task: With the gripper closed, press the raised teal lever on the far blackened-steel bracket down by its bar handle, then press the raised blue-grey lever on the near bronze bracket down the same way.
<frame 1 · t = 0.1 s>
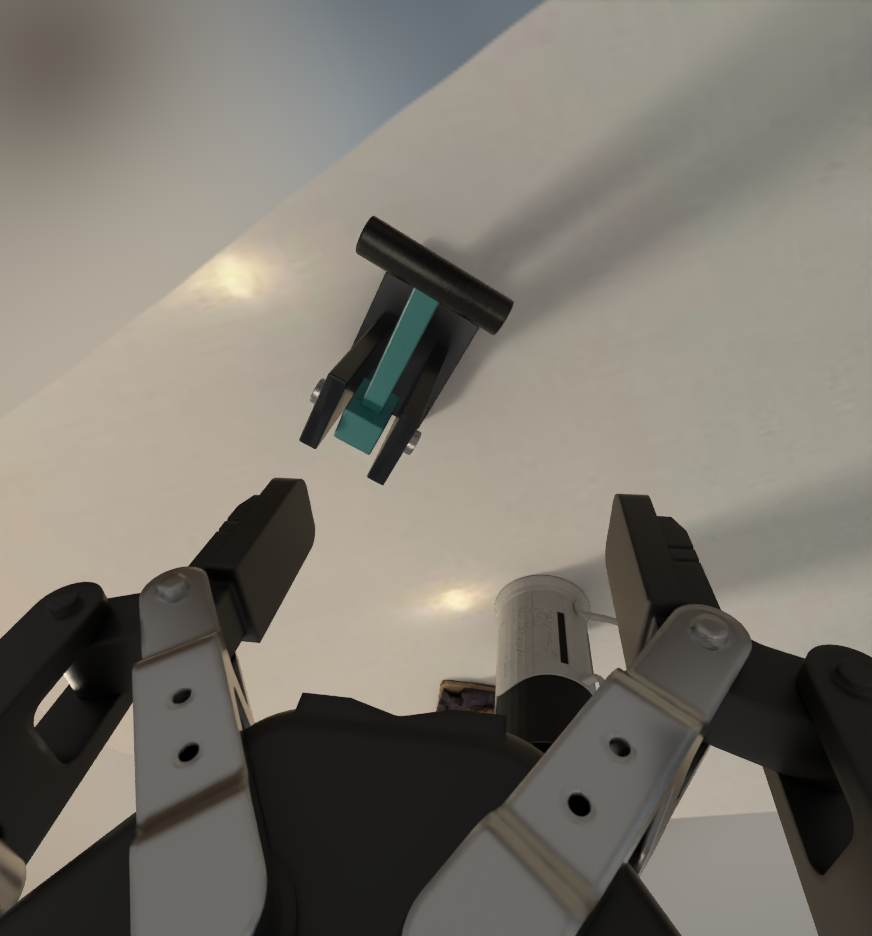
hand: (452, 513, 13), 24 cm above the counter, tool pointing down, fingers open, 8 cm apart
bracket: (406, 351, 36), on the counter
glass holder: (563, 594, 46), on the counter
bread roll: (486, 705, 57), on the counter
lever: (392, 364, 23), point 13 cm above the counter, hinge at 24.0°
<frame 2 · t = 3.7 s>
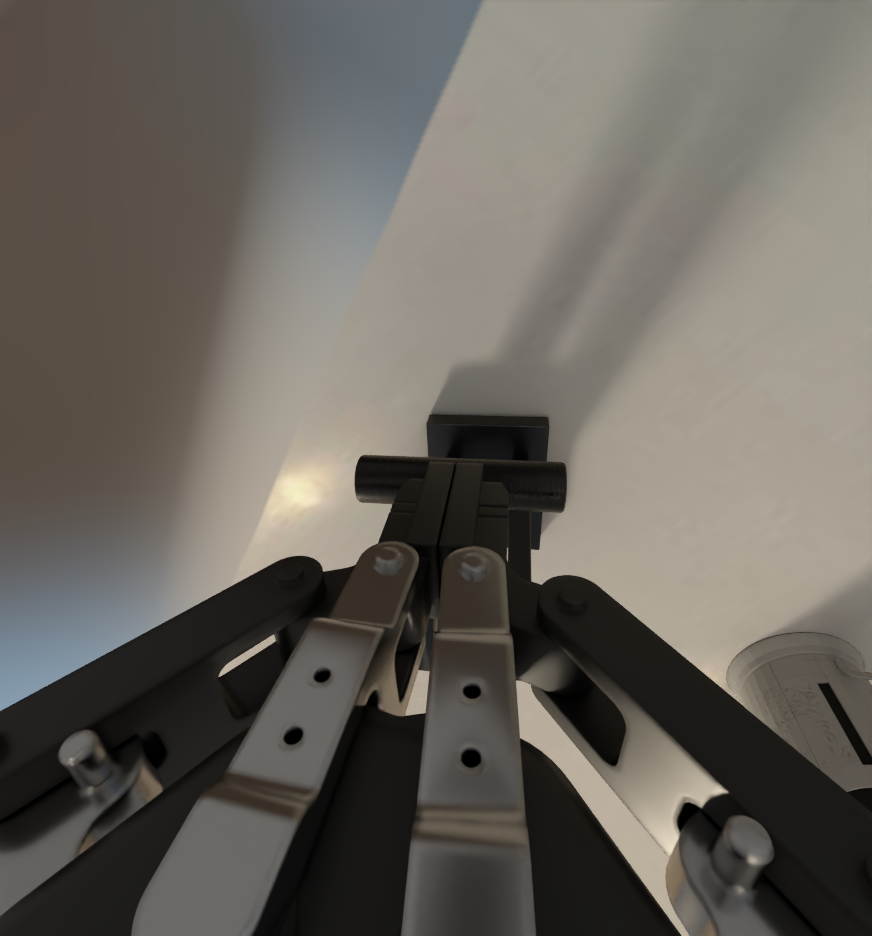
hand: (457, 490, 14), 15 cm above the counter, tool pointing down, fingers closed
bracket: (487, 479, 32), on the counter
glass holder: (812, 648, 36), on the counter
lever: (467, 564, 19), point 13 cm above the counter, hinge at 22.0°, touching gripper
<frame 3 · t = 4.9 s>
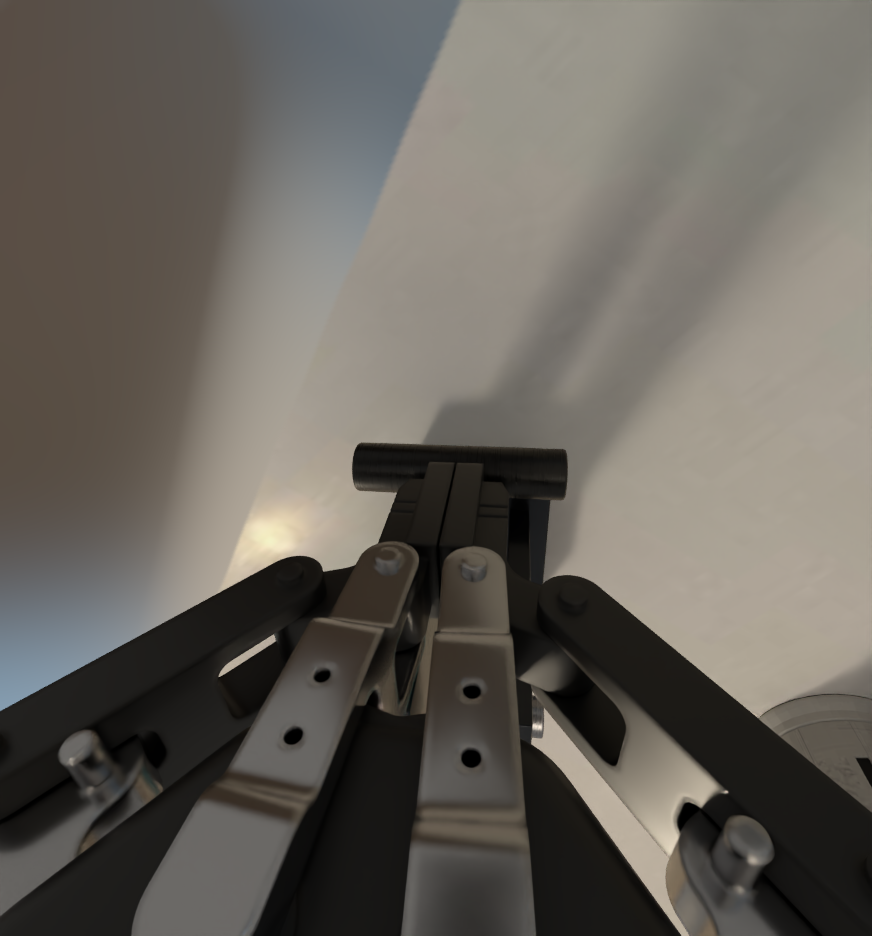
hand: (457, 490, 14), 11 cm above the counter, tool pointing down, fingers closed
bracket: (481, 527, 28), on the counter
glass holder: (846, 710, 32), on the counter
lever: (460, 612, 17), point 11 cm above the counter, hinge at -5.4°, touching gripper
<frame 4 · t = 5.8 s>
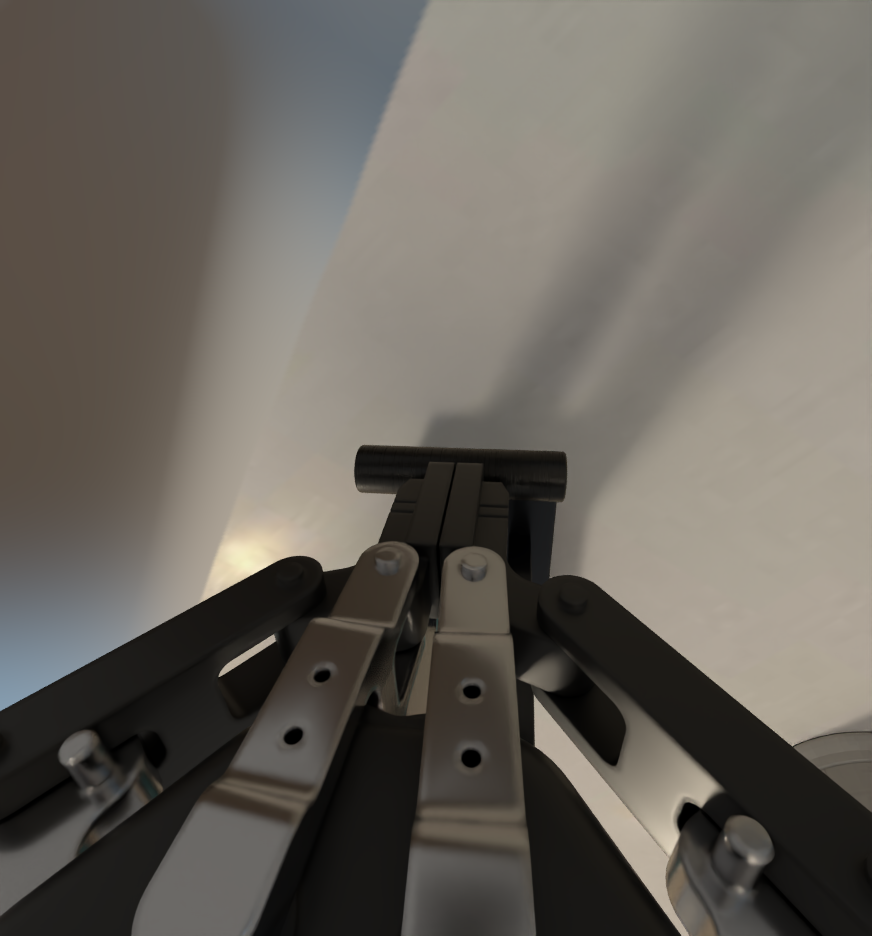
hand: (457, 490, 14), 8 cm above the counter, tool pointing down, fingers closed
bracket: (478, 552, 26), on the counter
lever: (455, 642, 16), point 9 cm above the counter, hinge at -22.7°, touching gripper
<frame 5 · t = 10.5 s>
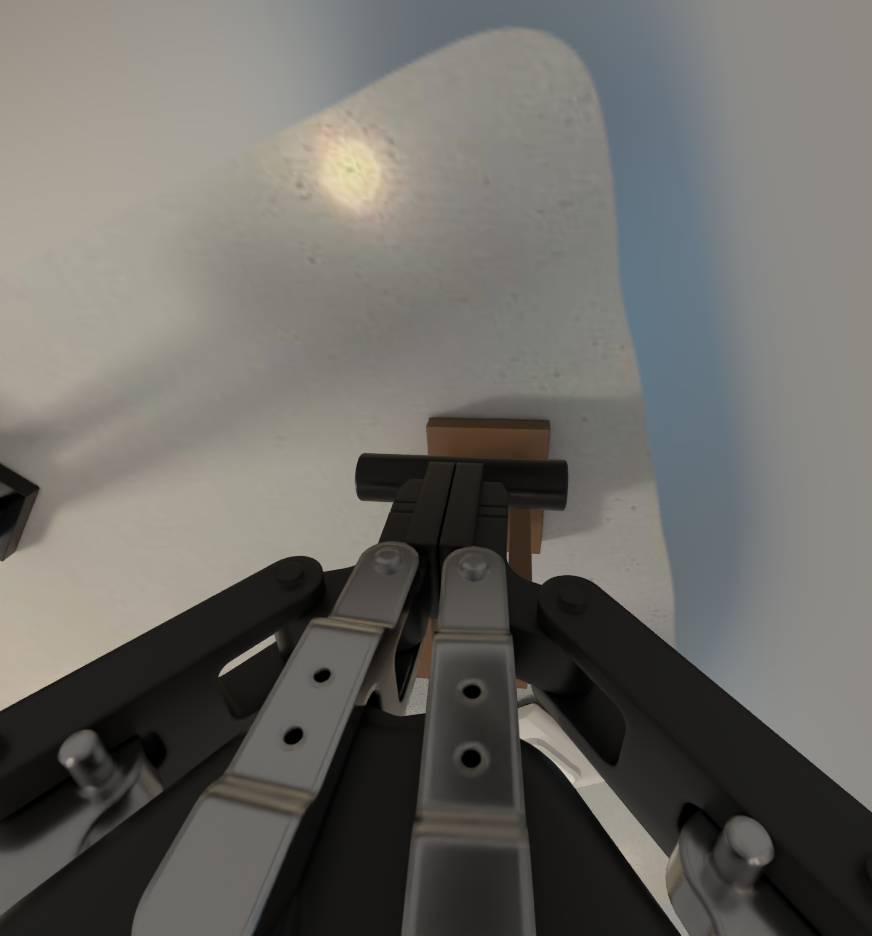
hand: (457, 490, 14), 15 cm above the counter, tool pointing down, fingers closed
light switch: (517, 747, 46), on the counter
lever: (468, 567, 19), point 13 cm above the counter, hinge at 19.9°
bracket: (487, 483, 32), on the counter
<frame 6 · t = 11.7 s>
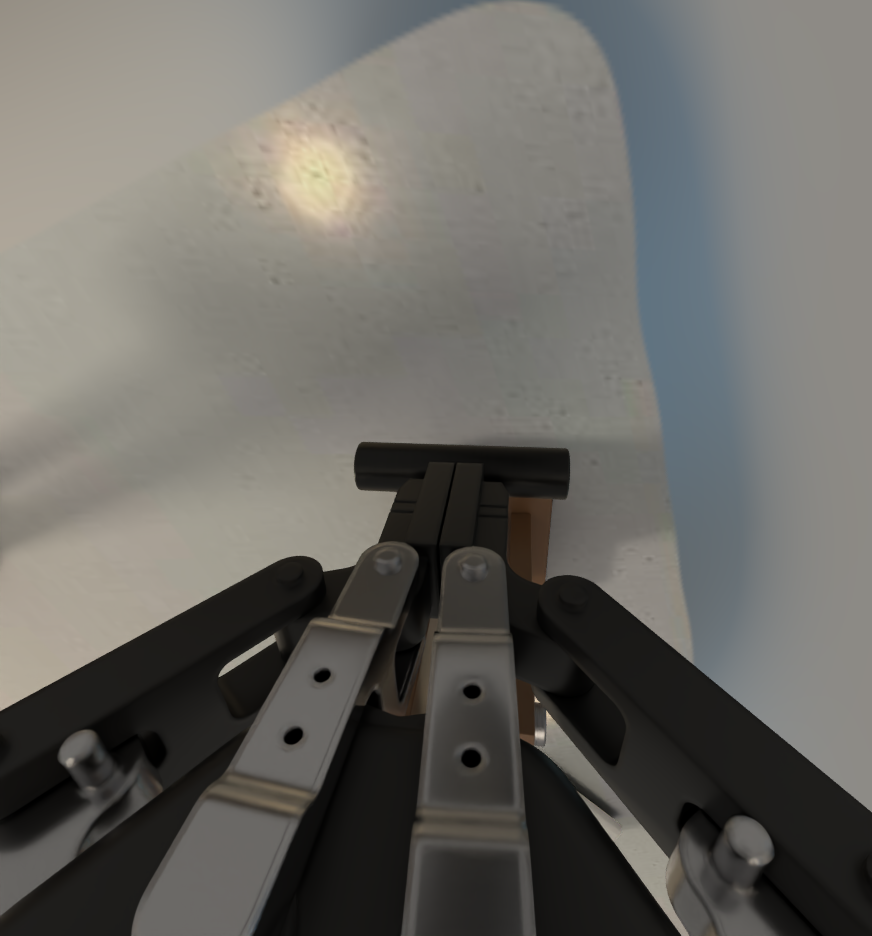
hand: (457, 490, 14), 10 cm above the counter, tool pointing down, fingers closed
light switch: (517, 800, 43), on the counter
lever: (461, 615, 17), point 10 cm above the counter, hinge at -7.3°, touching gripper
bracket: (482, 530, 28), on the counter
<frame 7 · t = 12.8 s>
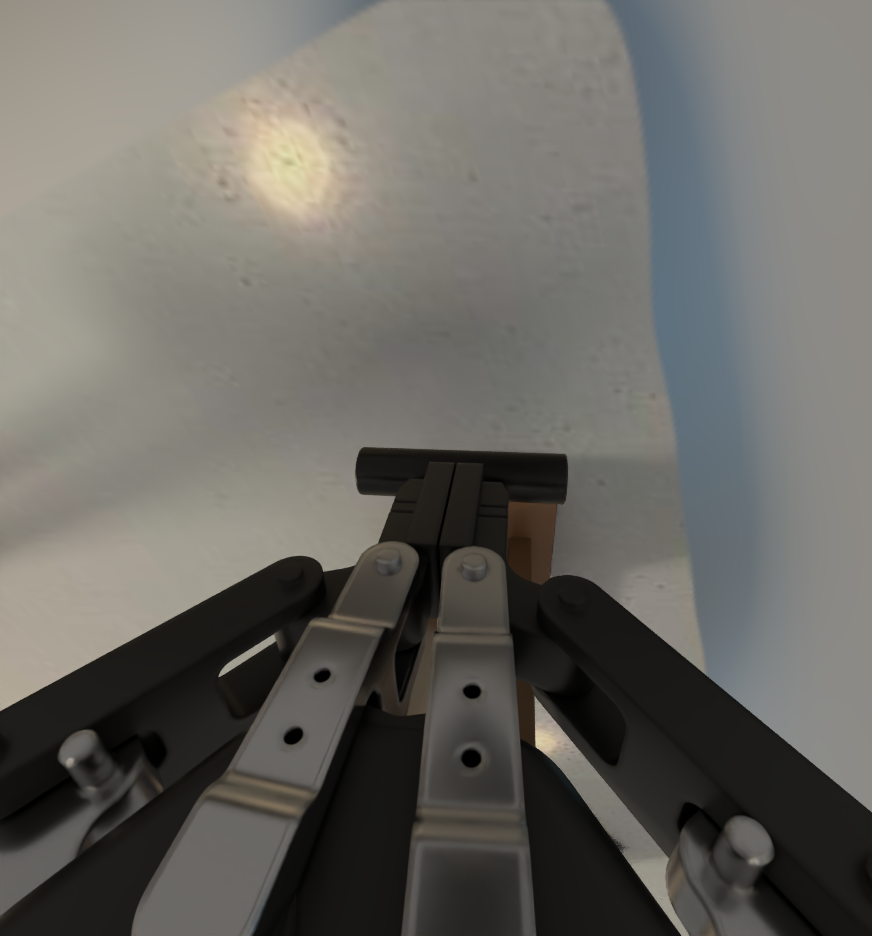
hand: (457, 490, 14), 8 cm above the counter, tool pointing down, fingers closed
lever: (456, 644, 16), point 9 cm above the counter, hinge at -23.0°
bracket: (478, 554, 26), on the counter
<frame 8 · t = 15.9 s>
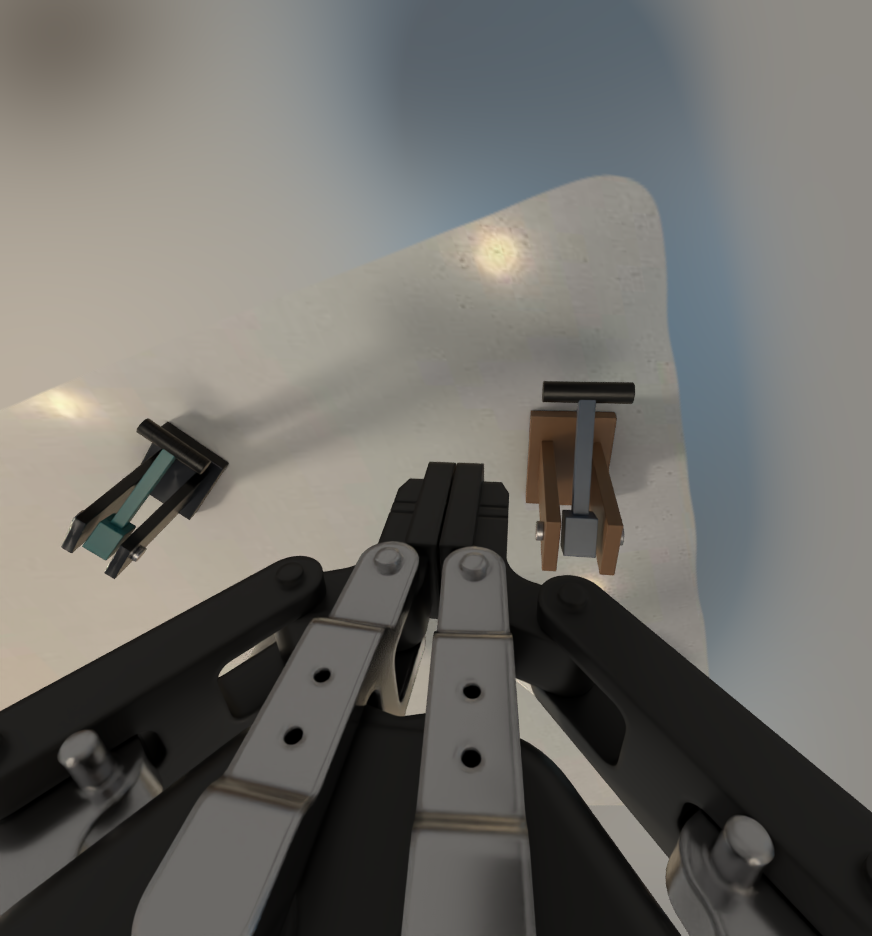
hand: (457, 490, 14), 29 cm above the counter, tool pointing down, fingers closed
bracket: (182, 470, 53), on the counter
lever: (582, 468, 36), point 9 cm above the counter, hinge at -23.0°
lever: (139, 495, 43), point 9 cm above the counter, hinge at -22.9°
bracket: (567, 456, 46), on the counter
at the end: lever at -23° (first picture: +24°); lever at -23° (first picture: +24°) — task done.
